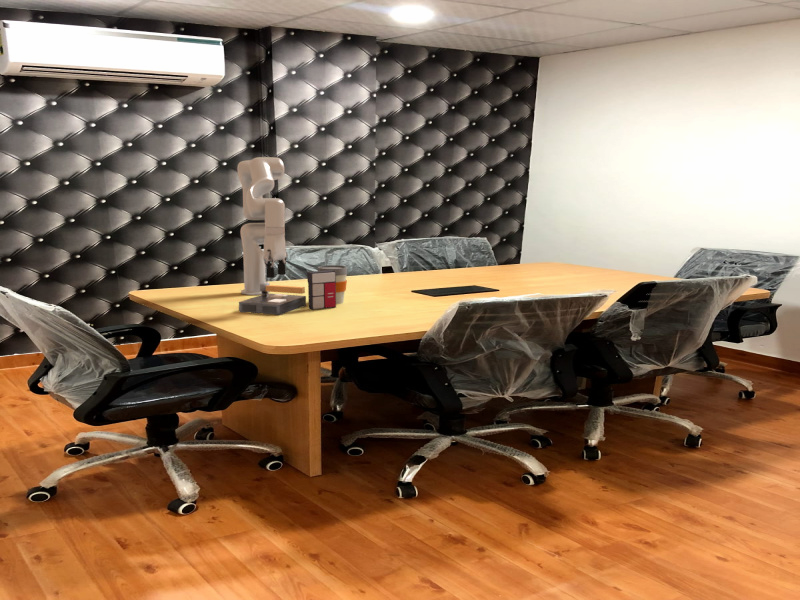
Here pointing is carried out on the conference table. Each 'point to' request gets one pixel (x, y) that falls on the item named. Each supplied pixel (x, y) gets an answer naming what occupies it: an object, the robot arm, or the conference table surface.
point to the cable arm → (282, 288)
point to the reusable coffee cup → (338, 280)
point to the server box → (272, 304)
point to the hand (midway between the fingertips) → (276, 275)
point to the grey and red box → (321, 289)
